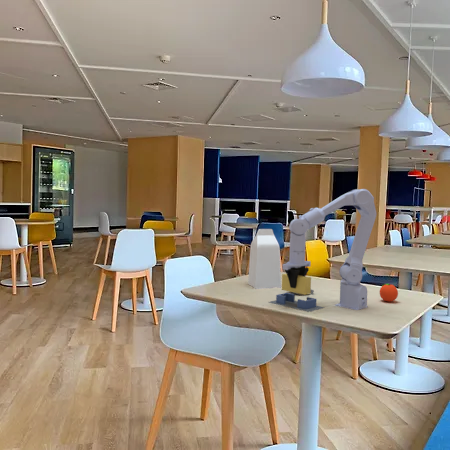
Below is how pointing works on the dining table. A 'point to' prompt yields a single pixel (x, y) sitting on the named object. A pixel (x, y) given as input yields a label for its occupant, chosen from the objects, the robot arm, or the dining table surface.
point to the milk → (264, 261)
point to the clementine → (388, 292)
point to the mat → (294, 305)
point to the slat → (302, 284)
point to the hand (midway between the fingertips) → (296, 287)
